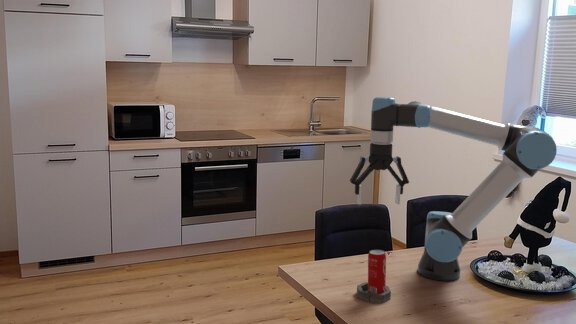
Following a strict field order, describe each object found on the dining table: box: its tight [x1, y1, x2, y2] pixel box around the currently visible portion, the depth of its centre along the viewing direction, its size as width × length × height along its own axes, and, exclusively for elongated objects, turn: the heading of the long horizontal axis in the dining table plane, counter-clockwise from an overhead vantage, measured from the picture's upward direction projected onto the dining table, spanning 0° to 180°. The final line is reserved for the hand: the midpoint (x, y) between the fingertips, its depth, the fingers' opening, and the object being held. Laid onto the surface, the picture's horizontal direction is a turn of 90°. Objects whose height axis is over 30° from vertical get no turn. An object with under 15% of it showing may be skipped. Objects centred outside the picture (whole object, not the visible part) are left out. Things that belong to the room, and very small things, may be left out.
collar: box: [356, 281, 392, 304], centre depth 184 cm, size 10×10×2 cm
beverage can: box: [367, 249, 387, 294], centre depth 182 cm, size 6×6×15 cm
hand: (378, 203), depth 194 cm, fingers open, 13 cm apart
